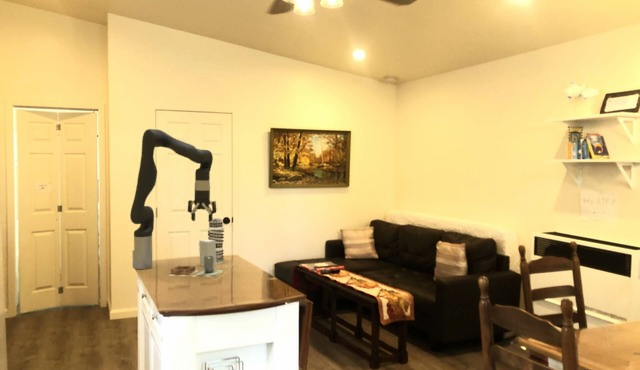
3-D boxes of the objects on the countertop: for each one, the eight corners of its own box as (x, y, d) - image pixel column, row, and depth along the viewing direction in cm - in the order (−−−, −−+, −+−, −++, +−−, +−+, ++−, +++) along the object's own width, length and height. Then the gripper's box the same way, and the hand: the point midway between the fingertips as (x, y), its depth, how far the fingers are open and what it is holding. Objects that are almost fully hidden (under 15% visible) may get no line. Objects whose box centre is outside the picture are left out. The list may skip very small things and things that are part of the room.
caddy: (165, 277, 236) (165, 270, 236) (177, 271, 250) (177, 264, 250) (214, 279, 233) (214, 272, 233) (224, 272, 247) (223, 266, 247)
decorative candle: (227, 261, 274) (227, 218, 273) (216, 264, 266) (215, 220, 265) (216, 260, 279) (215, 217, 278) (204, 262, 271) (204, 219, 270)
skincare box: (216, 267, 259) (216, 240, 258) (206, 269, 255) (206, 241, 254) (208, 265, 265) (208, 238, 264) (198, 266, 261) (198, 239, 260)
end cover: (202, 273, 238) (202, 257, 238) (206, 271, 243) (206, 255, 243) (211, 273, 238) (211, 257, 238) (214, 271, 242) (214, 255, 242)
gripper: (185, 189, 238) (185, 221, 239) (213, 190, 236) (212, 222, 237) (191, 188, 245) (191, 219, 246) (218, 189, 244) (217, 220, 244)
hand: (201, 221), depth 242 cm, fingers open, 8 cm apart
